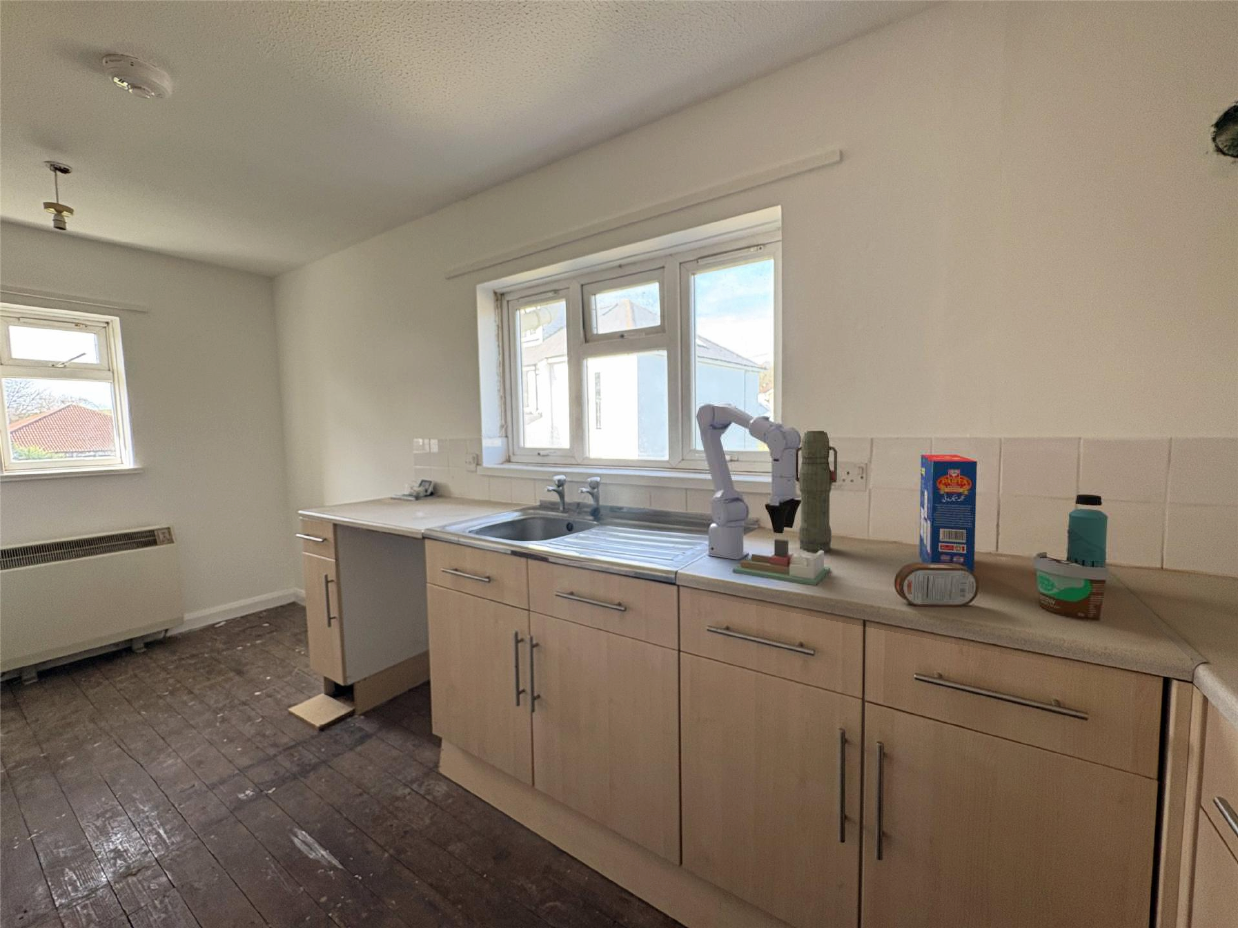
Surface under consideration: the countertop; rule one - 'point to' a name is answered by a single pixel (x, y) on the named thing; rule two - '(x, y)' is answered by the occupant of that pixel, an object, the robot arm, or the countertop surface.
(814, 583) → the pitch
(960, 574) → the tin
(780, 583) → the countertop surface
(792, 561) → the ball
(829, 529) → the thermos
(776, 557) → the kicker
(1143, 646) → the countertop surface
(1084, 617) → the food container
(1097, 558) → the beverage bottle
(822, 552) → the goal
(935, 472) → the pasta box
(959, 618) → the countertop surface
